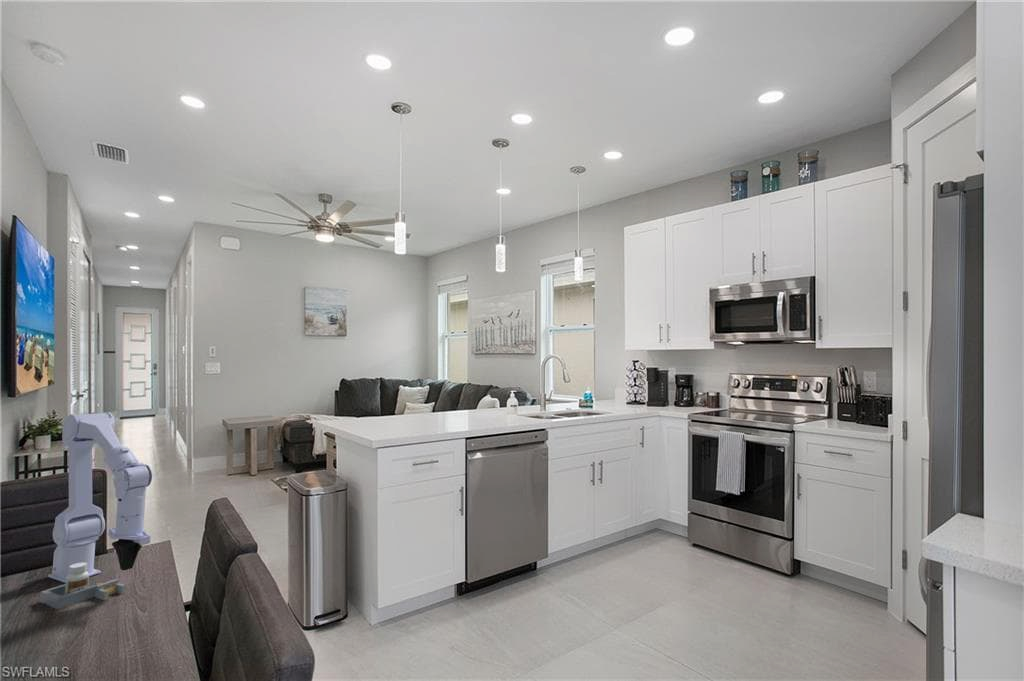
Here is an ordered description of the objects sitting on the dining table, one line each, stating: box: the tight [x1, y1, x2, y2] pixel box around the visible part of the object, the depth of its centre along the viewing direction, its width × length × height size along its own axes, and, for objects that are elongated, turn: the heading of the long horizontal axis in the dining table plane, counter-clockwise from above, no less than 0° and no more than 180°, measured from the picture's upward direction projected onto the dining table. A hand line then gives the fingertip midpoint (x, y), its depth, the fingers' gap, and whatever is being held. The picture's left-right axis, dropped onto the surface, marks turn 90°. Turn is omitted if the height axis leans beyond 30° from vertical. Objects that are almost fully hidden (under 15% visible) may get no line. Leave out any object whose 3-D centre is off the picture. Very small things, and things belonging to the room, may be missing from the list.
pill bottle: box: [64, 563, 90, 595], centre depth 126 cm, size 4×4×8 cm
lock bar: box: [94, 581, 117, 597], centre depth 128 cm, size 6×2×2 cm, turn 66°
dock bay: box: [39, 578, 126, 610], centre depth 125 cm, size 12×12×3 cm
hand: (126, 568), depth 128 cm, fingers closed
